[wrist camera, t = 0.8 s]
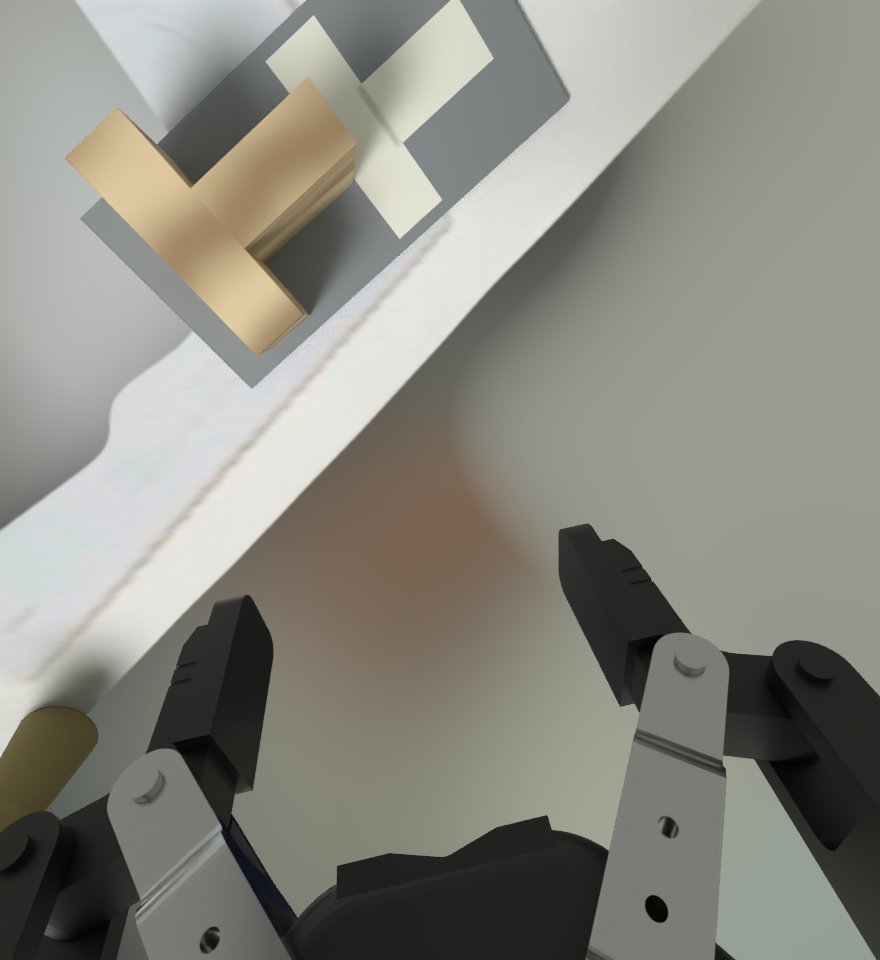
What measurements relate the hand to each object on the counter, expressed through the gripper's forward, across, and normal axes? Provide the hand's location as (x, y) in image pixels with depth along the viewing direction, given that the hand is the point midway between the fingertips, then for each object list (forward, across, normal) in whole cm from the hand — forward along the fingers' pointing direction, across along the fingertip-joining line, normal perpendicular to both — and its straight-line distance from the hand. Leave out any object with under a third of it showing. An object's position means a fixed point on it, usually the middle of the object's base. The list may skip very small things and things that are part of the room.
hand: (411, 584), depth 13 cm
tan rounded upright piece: (+18, +33, +27) cm, 47 cm away
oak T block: (+29, +5, -7) cm, 30 cm away
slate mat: (+30, 0, -9) cm, 32 cm away
